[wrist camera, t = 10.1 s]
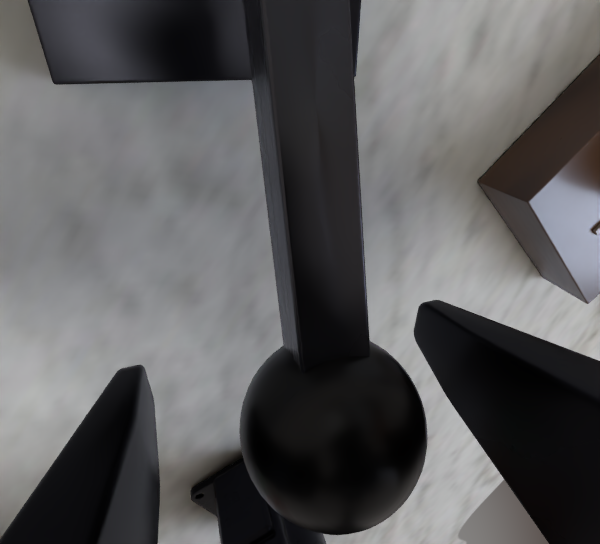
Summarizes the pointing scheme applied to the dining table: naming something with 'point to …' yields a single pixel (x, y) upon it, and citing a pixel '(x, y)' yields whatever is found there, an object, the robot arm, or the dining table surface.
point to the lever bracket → (149, 40)
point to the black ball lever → (321, 291)
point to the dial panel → (557, 188)
